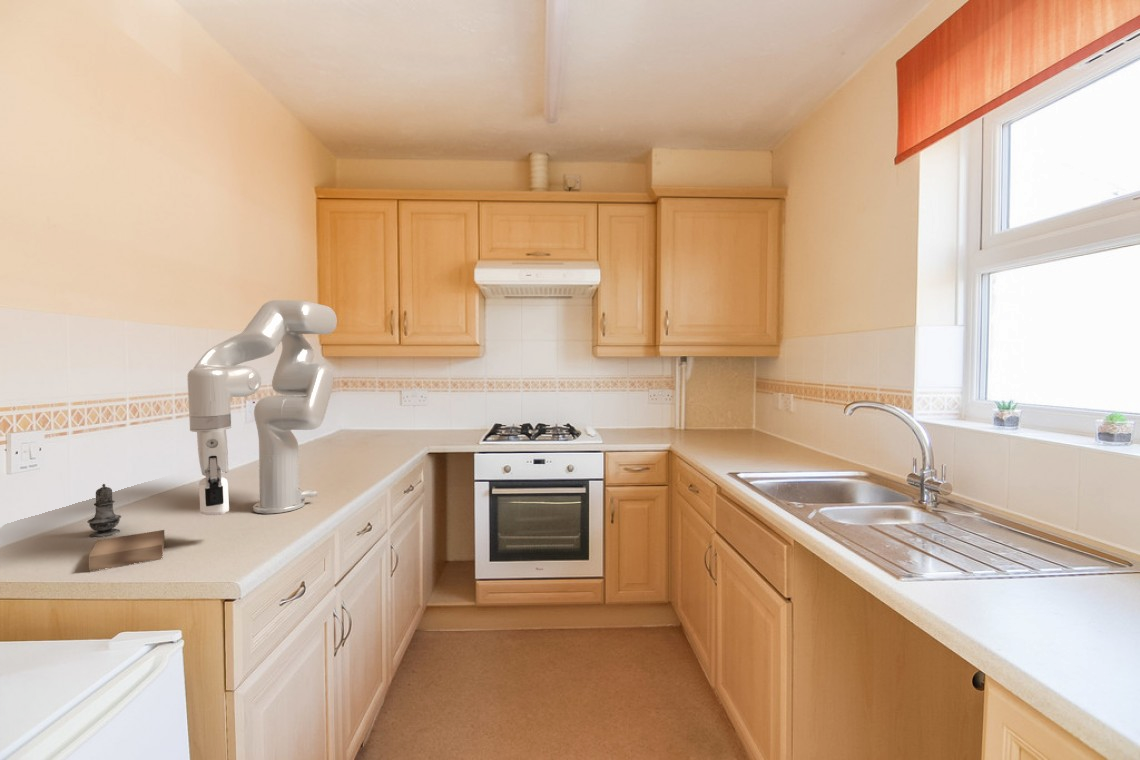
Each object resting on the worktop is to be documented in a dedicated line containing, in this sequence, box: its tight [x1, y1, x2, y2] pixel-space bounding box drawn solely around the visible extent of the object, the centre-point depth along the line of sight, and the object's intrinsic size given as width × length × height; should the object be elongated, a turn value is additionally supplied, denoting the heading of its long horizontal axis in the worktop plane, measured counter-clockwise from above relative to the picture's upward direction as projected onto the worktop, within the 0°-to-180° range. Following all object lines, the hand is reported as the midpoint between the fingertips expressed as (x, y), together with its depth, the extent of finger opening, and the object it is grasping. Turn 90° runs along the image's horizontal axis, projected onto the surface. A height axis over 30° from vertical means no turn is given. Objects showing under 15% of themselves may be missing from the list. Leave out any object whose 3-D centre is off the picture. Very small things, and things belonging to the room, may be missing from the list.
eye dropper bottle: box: [198, 468, 230, 516], centre depth 112 cm, size 4×6×12 cm
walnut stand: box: [88, 529, 166, 573], centre depth 103 cm, size 11×11×3 cm
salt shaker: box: [87, 483, 122, 538], centre depth 116 cm, size 6×6×12 cm
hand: (214, 500), depth 112 cm, fingers closed on eye dropper bottle, 4 cm apart
